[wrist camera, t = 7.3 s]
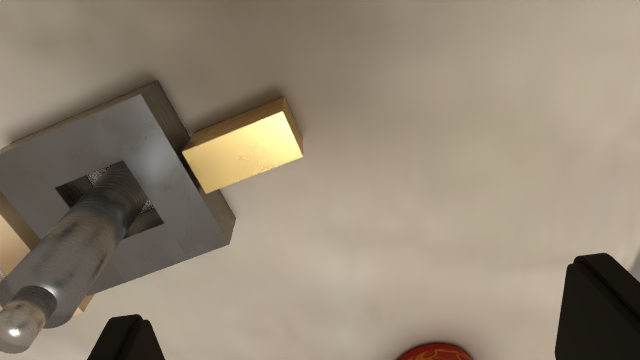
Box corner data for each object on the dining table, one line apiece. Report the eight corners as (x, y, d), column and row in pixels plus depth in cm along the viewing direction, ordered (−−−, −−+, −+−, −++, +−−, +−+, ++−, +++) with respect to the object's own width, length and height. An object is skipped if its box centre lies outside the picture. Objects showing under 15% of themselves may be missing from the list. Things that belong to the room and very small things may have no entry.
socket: (10, 143, 27) (-22, 163, 24) (157, 80, 25) (140, 94, 23) (105, 267, 31) (87, 296, 28) (235, 218, 29) (229, 244, 27)
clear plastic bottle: (95, 171, 28) (-55, 322, 16) (137, 154, 27) (15, 295, 16) (121, 209, 29) (0, 375, 17) (162, 194, 28) (67, 352, 17)
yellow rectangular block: (193, 133, 27) (181, 152, 24) (284, 96, 26) (282, 111, 23) (214, 171, 28) (206, 193, 25) (302, 137, 27) (303, 156, 24)
